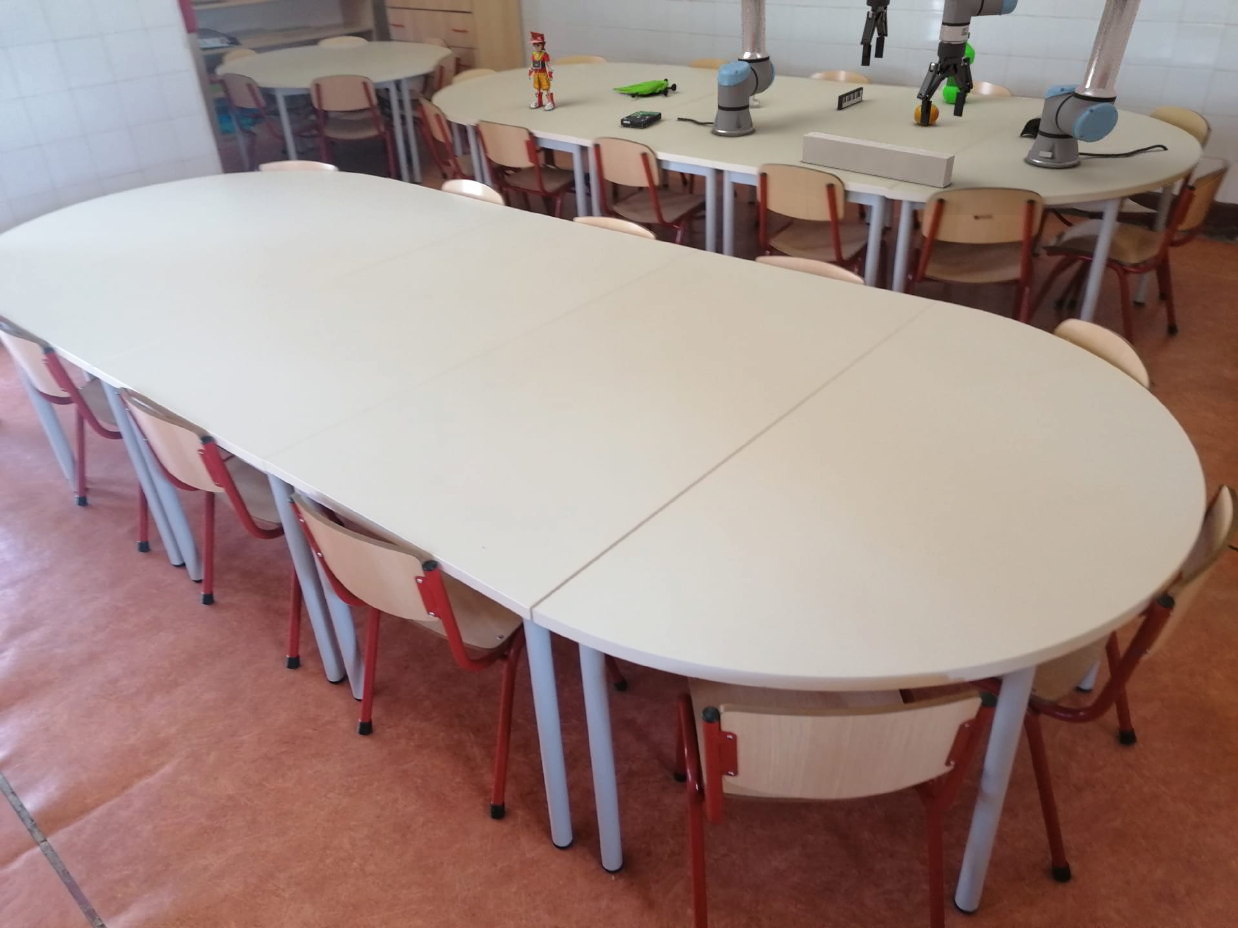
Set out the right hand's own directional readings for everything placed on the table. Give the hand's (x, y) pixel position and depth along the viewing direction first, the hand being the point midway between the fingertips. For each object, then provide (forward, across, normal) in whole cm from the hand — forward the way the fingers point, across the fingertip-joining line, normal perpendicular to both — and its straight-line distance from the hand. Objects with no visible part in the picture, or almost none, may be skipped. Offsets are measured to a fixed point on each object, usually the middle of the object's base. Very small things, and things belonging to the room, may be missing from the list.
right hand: (941, 120), depth 263 cm
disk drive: (+20, -27, +125) cm, 129 cm away
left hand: (-6, +21, +52) cm, 56 cm away
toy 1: (+20, -46, +176) cm, 182 cm away
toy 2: (+20, 0, +170) cm, 171 cm away
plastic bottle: (+19, +83, +67) cm, 108 cm away
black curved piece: (+19, +78, +18) cm, 83 cm away
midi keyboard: (+20, +51, +91) cm, 106 cm away
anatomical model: (+20, +20, +121) cm, 124 cm away
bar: (+20, -3, +22) cm, 29 cm away
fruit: (+20, +51, +51) cm, 75 cm away
